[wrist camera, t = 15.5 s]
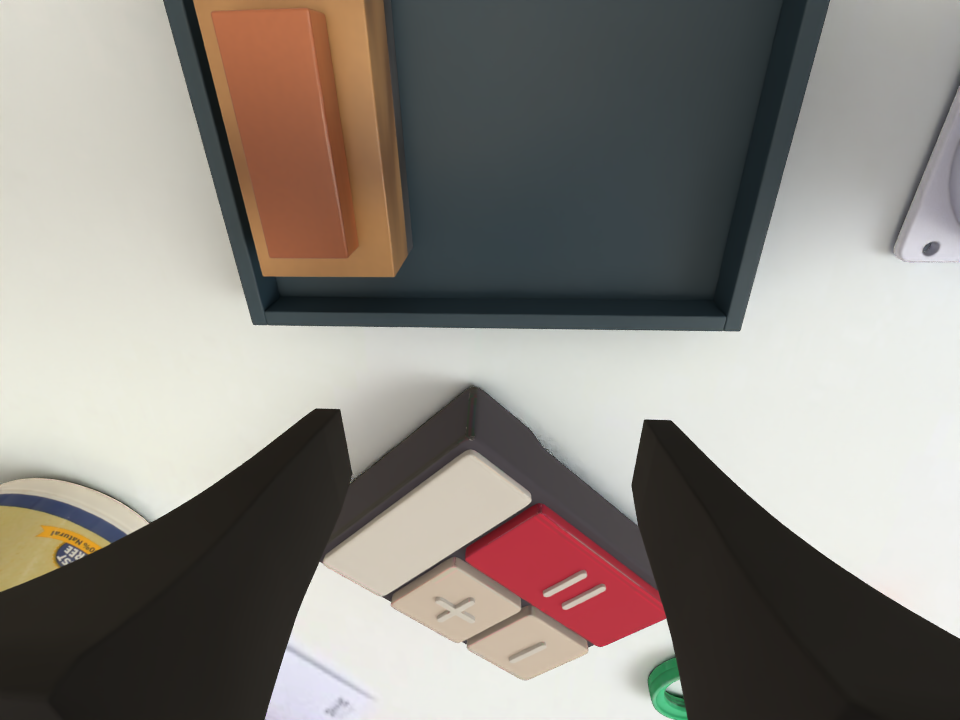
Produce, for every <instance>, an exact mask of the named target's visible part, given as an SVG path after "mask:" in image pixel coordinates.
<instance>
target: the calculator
mask: <svg viewBox="0 0 960 720" xmlns="http://www.w3.org/2000/svg"><path fill="white" fill-rule="evenodd" d="M320 562H321V563H323V564H324V565H325V566H326V567H328V568H330V569H331V570H333V571H335V572H337V573H339V574H340V575H342V576H344V577H346V578H347V579H349V580H351V581H353V582H355V583H356V584H358V585H360V586H362V587H363V588H365V589H367V590H369V591H371V592H372V593H374V594H376V595H378V596H382V597H383V598H385V599H387V600H389V601H390V602H391V606H392V607H393V608H394V609H396V610H397V611H399V612H401V613H403V614H405V615H406V616H408V617H410V618H412V619H414V620H415V621H417V622H419V623H421V624H423V625H424V626H426V627H428V628H430V629H431V630H433V631H435V632H437V633H439V634H440V635H442V636H444V637H446V638H448V639H449V640H451V641H453V642H456V643H460V642H463V643H465V644H467V649H468V650H469V651H471V652H473V653H474V654H476V655H478V656H480V657H482V658H483V659H485V660H487V661H489V662H491V663H492V664H494V665H496V666H498V667H500V668H501V669H503V670H505V671H507V672H508V673H510V674H512V675H514V676H516V677H517V678H519V679H521V680H529V679H531V678H534V677H536V676H538V675H540V674H543V673H545V672H547V671H549V670H552V669H554V668H556V667H558V666H561V665H563V664H565V663H567V662H570V661H572V660H574V659H576V658H579V657H581V656H583V655H585V654H587V653H588V647H590V646H593V645H596V646H598V647H603V646H606V645H608V644H610V643H612V642H615V641H617V640H619V639H621V638H624V637H626V636H628V635H630V634H633V633H635V632H637V631H639V630H642V629H644V628H646V627H648V626H651V625H653V624H655V623H657V622H660V621H662V620H664V619H666V615H665V612H664V608H663V605H662V602H661V599H660V595H659V592H658V589H657V586H656V582H655V579H654V576H653V573H652V569H651V566H650V563H649V560H648V556H647V553H646V550H645V546H644V543H643V540H642V536H641V533H640V529H639V527H638V526H637V525H636V524H634V523H633V522H632V521H631V520H630V519H628V518H627V517H626V516H625V515H624V514H622V513H621V512H620V511H619V510H617V509H616V508H615V507H614V506H613V505H611V504H610V503H609V502H608V501H607V500H605V499H604V498H603V497H602V496H600V495H599V494H598V493H597V492H596V491H594V490H593V489H592V488H591V487H590V486H588V485H587V484H586V483H585V482H583V481H582V480H581V479H580V478H579V477H577V476H576V475H575V474H574V473H572V472H571V471H570V470H569V469H568V468H566V467H565V466H564V465H563V464H562V463H560V462H559V461H558V460H557V459H555V458H554V457H553V456H552V455H551V454H549V453H548V452H547V451H546V450H545V449H544V448H543V447H542V445H541V444H540V442H539V441H538V440H537V438H536V437H535V436H534V434H533V433H532V432H531V430H530V429H529V428H527V427H526V426H525V425H524V424H523V423H521V422H520V421H519V420H518V419H517V418H515V417H514V416H513V415H512V414H511V413H509V412H508V411H507V410H506V409H505V408H503V407H502V406H501V405H500V404H499V403H497V402H496V401H495V400H494V399H493V398H491V397H490V396H489V395H488V394H487V393H485V392H484V391H483V390H482V389H480V388H478V387H470V388H468V389H467V390H465V391H464V392H463V393H461V394H460V395H459V396H458V397H457V398H455V399H454V400H453V401H452V402H450V403H449V404H448V405H447V406H445V407H444V408H443V409H442V410H441V411H439V412H438V413H437V414H436V415H434V416H433V417H432V418H431V419H429V420H428V421H427V422H426V423H425V424H423V425H422V426H421V427H420V428H418V429H417V430H416V431H415V432H414V433H412V434H411V435H410V436H409V437H407V438H406V439H405V440H404V441H402V442H401V443H400V444H399V445H398V446H396V447H395V448H394V449H393V450H391V451H390V452H389V453H388V454H386V455H385V456H384V457H383V458H382V459H380V460H379V461H378V462H377V463H375V464H374V465H373V466H372V467H371V468H369V469H368V470H367V471H366V472H364V473H363V474H362V475H361V476H359V477H358V478H357V479H356V480H355V481H353V482H352V483H351V484H350V485H349V487H348V490H347V494H346V497H345V501H344V504H343V507H342V511H341V513H340V515H339V518H338V520H337V523H336V525H335V527H334V530H333V532H332V534H331V537H330V539H329V541H328V543H327V546H326V548H325V550H324V552H323V555H322V557H321V559H320Z"/></svg>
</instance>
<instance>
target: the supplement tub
mask: <svg viewBox="0 0 960 720" xmlns="http://www.w3.org/2000/svg"><path fill="white" fill-rule="evenodd" d="M147 524H149V523H148V522H147V521H146V520H145V519H144V518H143V517H141V516H140V515H139V514H138V513H136V512H135V511H133V510H132V509H130V508H129V507H127V506H126V505H124V504H123V503H121V502H119V501H117V500H115V499H113V498H111V497H109V496H107V495H105V494H103V493H101V492H98V491H96V490H93V489H90V488H87V487H84V486H81V485H78V484H74V483H70V482H66V481H60V480H54V479H45V478H26V479H18V480H14V481H9V482H6V483H2V484H0V592H2V591H4V590H7V589H9V588H12V587H14V586H17V585H20V584H22V583H25V582H27V581H29V580H32V579H34V578H37V577H39V576H41V575H44V574H46V573H48V572H51V571H53V570H55V569H57V568H60V567H62V566H64V565H67V564H69V563H71V562H73V561H75V560H78V559H80V558H82V557H84V556H86V555H88V554H90V553H93V552H95V551H97V550H99V549H101V548H103V547H105V546H107V545H109V544H111V543H113V542H115V541H117V540H119V539H121V538H123V537H124V536H126V535H128V534H130V533H132V532H134V531H136V530H138V529H140V528H142V527H144V526H145V525H147Z"/></svg>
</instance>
